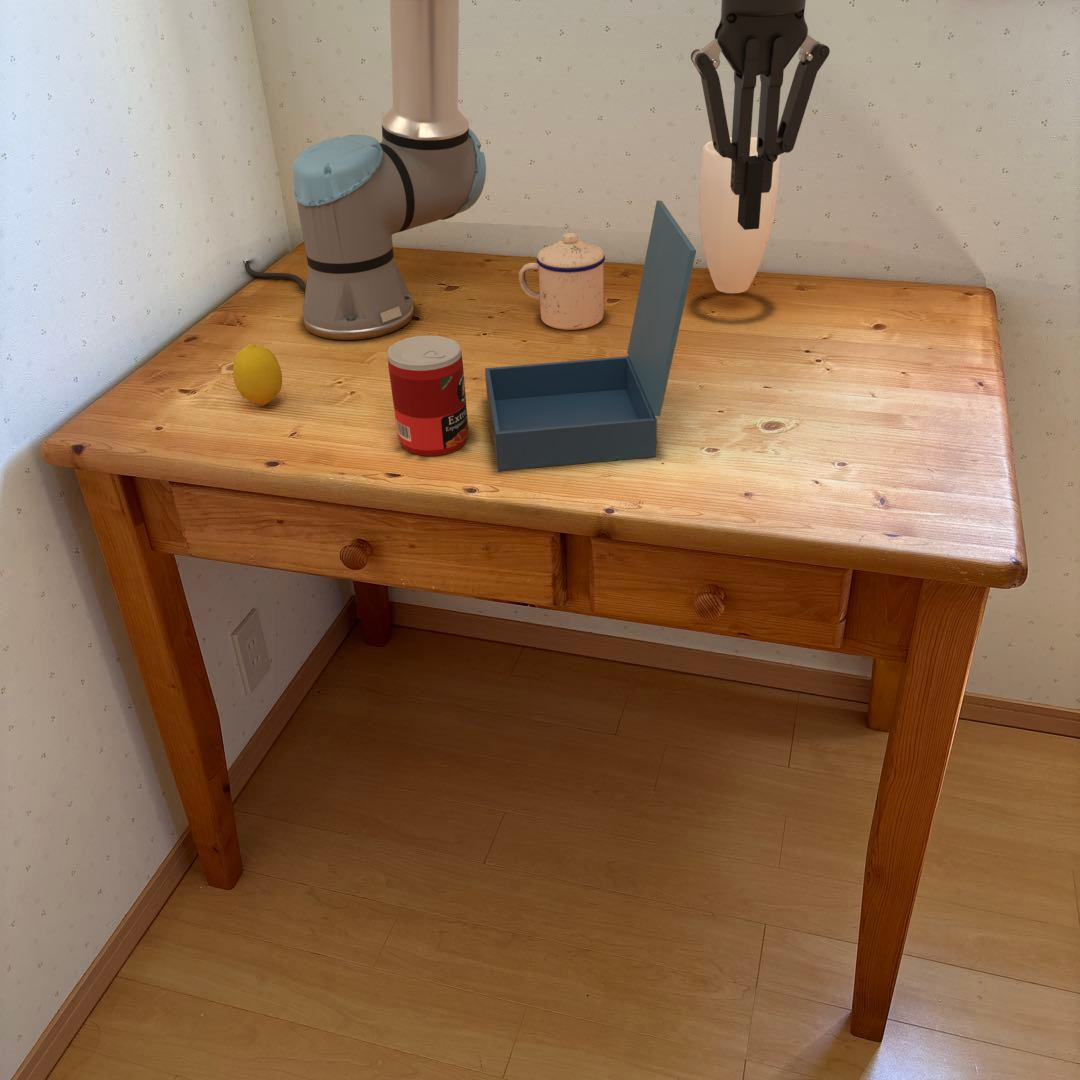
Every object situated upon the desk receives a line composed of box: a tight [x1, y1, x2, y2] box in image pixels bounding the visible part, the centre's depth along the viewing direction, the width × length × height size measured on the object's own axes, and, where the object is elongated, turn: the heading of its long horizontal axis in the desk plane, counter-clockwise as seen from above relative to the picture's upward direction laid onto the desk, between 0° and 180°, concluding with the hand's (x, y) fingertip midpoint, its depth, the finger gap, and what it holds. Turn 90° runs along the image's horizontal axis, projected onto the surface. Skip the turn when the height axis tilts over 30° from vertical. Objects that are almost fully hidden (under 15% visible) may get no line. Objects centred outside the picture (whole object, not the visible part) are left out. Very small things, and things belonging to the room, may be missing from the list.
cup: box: [698, 136, 781, 294], centre depth 139 cm, size 10×10×22 cm
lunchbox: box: [484, 355, 658, 472], centre depth 117 cm, size 17×16×4 cm
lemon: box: [232, 342, 283, 407], centre depth 124 cm, size 6×6×8 cm
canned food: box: [386, 334, 469, 457], centre depth 114 cm, size 8×8×11 cm
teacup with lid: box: [518, 232, 606, 331], centre depth 141 cm, size 12×9×12 cm
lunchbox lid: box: [627, 199, 697, 417], centre depth 111 cm, size 18×16×1 cm
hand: (748, 224), depth 107 cm, fingers closed
